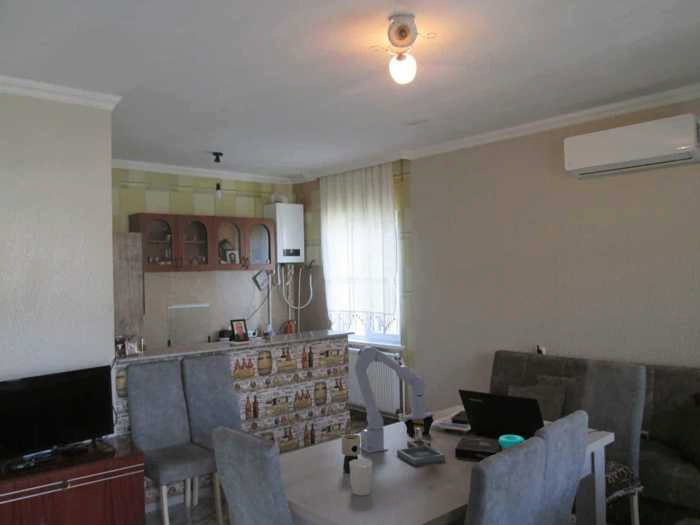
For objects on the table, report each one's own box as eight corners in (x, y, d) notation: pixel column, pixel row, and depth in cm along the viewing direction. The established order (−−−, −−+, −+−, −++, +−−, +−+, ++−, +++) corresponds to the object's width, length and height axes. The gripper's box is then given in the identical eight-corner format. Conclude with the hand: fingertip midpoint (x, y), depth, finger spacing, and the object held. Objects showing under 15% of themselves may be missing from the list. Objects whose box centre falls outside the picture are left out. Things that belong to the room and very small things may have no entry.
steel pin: (417, 448, 237) (417, 429, 237) (414, 446, 239) (413, 428, 240) (423, 447, 238) (423, 428, 238) (420, 445, 241) (419, 427, 241)
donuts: (521, 433, 221) (528, 441, 211) (522, 459, 221) (528, 467, 211) (496, 433, 222) (501, 441, 212) (496, 459, 222) (502, 467, 212)
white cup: (359, 485, 196) (359, 457, 196) (377, 491, 191) (376, 461, 191) (345, 492, 190) (344, 463, 190) (363, 498, 185) (362, 468, 185)
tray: (414, 466, 215) (414, 459, 215) (397, 455, 228) (396, 449, 228) (444, 460, 220) (444, 454, 220) (426, 450, 233) (426, 445, 233)
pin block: (415, 450, 234) (415, 445, 234) (407, 445, 241) (407, 441, 241) (431, 448, 237) (431, 443, 237) (422, 443, 244) (422, 438, 244)
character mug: (350, 477, 204) (350, 441, 204) (335, 473, 208) (334, 439, 209) (367, 468, 213) (366, 434, 213) (351, 465, 217) (351, 432, 218)
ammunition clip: (406, 432, 261) (405, 407, 261) (407, 431, 262) (407, 406, 263) (428, 435, 256) (427, 409, 256) (429, 434, 258) (428, 408, 258)
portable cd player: (501, 449, 234) (501, 440, 234) (497, 462, 218) (496, 452, 218) (462, 446, 240) (462, 437, 240) (455, 458, 224) (455, 448, 224)
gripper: (408, 408, 233) (408, 440, 232) (437, 404, 238) (438, 435, 238) (400, 404, 239) (400, 436, 239) (428, 400, 245) (429, 431, 244)
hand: (419, 435), depth 239 cm, fingers open, 7 cm apart
